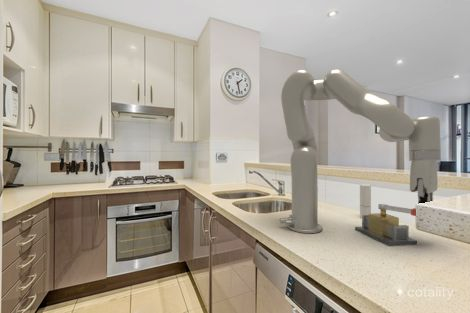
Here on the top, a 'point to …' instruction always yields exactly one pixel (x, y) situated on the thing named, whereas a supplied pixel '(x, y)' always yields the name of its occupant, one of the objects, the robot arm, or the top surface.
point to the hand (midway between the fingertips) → (425, 214)
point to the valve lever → (397, 209)
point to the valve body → (385, 229)
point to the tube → (365, 199)
